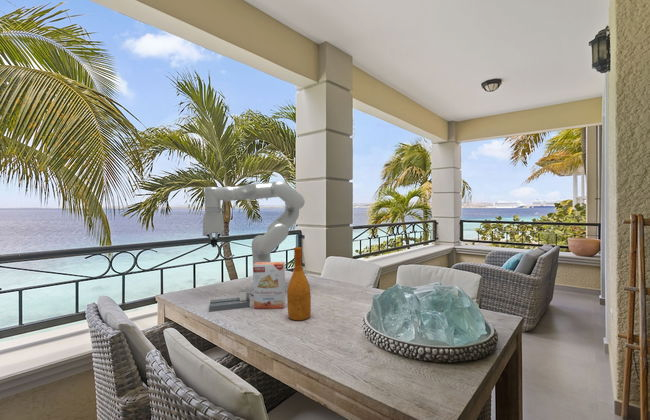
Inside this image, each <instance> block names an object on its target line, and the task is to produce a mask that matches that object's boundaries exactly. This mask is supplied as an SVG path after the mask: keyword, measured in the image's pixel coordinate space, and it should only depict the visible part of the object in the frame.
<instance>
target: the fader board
mask: <svg viewBox="0 0 650 420" xmlns="http://www.w3.org/2000/svg"><path fill="white" fill-rule="evenodd" d="M245 308H251V298H250V293H249V292H246V300H244V301H240V298H239V296H238V297H228V298H219V299H210V301H209V309H208V311H209V312H211V313H212V312H219V311H227V310H229V311H230V310H237V309H245Z"/></svg>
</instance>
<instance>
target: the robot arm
mask: <svg viewBox="0 0 650 420" xmlns="http://www.w3.org/2000/svg"><path fill="white" fill-rule="evenodd" d="M271 198H279V199H281V201H283V202H284V204H285V209H284V211H283V213H282V214H280V216H278V218H276V219H275V220H274V221H272V223H270V224H269V226H268V227H267V231H266V232H265V233H264V234H260V235H256V236H254V238H253V239H252V241H251V253H252V266H253V265H254V264H255V263H256V262H272V261H271V253H272V252H273V251H275V250H276V249H277V248H278V247H279V246H280V245H281V244H282V243H283V242H284V241H285V240H286V239H287V238H288V235H289V230H290V229H291V227H292V226H293V225H294V224H295V223H296V222H297V221H298V218H299V216H300V210H301V209H302V208H303V207H304V205H305V197H304V196H303V195H302V194H301V193H299V192H298V191H297V190H295V189H294V188H293V187H292V186H291V185H289V184H288V183H287V182H285V181H282V180H277V181H269V182H254V183H250V184H246V185H238V186H229V185H227V186H219V187H218V186H207V187H205V188H204V213H203V219H202V236H204V237H207V238H209V239H210V246H212V248H216V247H217V246H218V238H220V236H224V235H225V221H224V220H225V219H224V215H223V213H222V212H224V211H225V209H224V208H222V207H221V204H222V203H221V201H225V202H233V201H241V200H262V199H271ZM213 234H215V235H214V237H213ZM252 280H253V279H252ZM252 282H253V283H252V285H253V289H252V290H251V291H250V296H252V297H254V280H253V281H252Z"/></svg>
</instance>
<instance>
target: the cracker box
mask: <svg viewBox="0 0 650 420" xmlns="http://www.w3.org/2000/svg"><path fill="white" fill-rule="evenodd" d="M285 263H286V262H285V261H271V262H256V263H255V264H254V265H253V264H252V280H254V296H253V308H254V309H255V310H256V309H284V308H285V306H286V271H285V269H286V268H285V267H286V266H285Z"/></svg>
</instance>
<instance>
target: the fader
mask: <svg viewBox="0 0 650 420" xmlns="http://www.w3.org/2000/svg"><path fill="white" fill-rule="evenodd" d="M238 290H239V292H238V293H239V295H238V297H239V298H240V301H244V300H246V293H247V288H246V287H245V288H244V287H243V288H239V289H238Z"/></svg>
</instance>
